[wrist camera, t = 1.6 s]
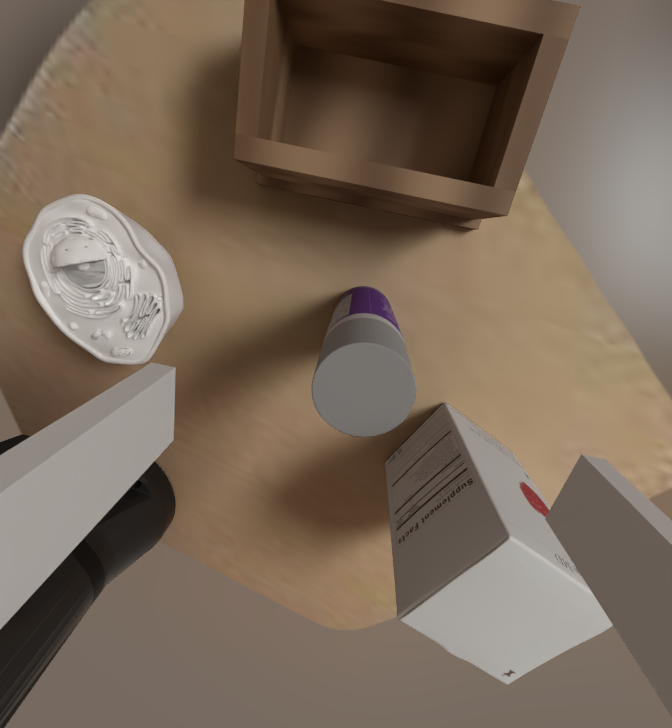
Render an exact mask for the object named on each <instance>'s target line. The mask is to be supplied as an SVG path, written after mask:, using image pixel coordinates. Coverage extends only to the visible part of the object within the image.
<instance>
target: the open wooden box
mask: <svg viewBox="0 0 672 728" xmlns="http://www.w3.org/2000/svg"><path fill="white" fill-rule="evenodd" d="M579 9H580V6H577V5H572V4H568V3H563V2H558V1H553V0H245V4H244V18H243V32H242V46H241V60H240V75H239V89H238V103H237V117H236V131H235V146H234V159H235V160H237V161H239V162H240V163H242V164H244V165H245V166H247V167H249V168H251V169H252V170H254V171H256V172H257V174H256V183H257V184H259V185H263V186H268V187H272V188H277V189H282V190H287V191H291V192H296V193H301V194H306V195H311V196H315V197H320V198H325V199H330V200H335V201H339V202H344V203H349V204H354V205H359V206H363V207H368V208H373V209H378V210H383V211H387V212H392V213H397V214H402V215H407V216H411V217H416V218H421V219H426V220H431V221H435V222H440V223H445V224H450V225H455V226H459V227H464V228H469V229H474V230H476V229H479V226H480V223H481V219H485V218H493V217H501V216H507V215H508V212H509V210H510V207H511V204H512V201H513V198H514V195H515V192H516V190H517V187H518V184H519V181H520V178H521V175H522V172H523V170H524V167H525V164H526V161H527V158H528V155H529V152H530V149H531V147H532V144H533V141H534V138H535V135H536V132H537V129H538V127H539V124H540V121H541V118H542V115H543V112H544V109H545V107H546V104H547V101H548V98H549V95H550V92H551V89H552V87H553V83H554V80H555V78H556V75H557V72H558V69H559V67H560V63H561V61H562V58H563V55H564V52H565V49H566V46H567V44H568V41H569V38H570V35H571V32H572V29H573V26H574V23H575V20H576V18H577V15H578V12H579Z"/></svg>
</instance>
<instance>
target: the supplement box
mask: <svg viewBox="0 0 672 728" xmlns="http://www.w3.org/2000/svg"><path fill="white" fill-rule="evenodd" d="M385 471H386V483H387V495H388V507H389V518H390V530H391V542H392V554H393V566H394V578H395V590H396V603H397V618H398V619H399V620H400V621H402V622H403V623H405V624H407V625H408V626H410V627H412V628H414V629H415V630H417V631H419V632H420V633H422V634H424V635H425V636H427V637H429V638H430V639H432V640H434V641H435V642H437V643H438V644H440V645H441V646H443V647H444V648H445V649H446V650H447V651H448V652H450V653H451V654H453V655H455V656H457V657H459V658H461V659H463V660H466V661H468V662H470V663H472V664H474V665H475V666H477V667H478V668H480V669H482V670H483V671H485V672H487V673H488V674H490V675H492V676H493V677H495V678H496V679H498V680H500V681H501V682H503V683H505V684H509V683H511V682H512V681H514V680H516V679H517V678H519V677H520V676H522V675H524V674H525V673H527V672H529V671H531V670H532V669H534V668H536V667H537V666H539V665H541V664H543V663H545V662H546V661H548V660H549V659H551V658H553V657H555V656H557V655H558V654H561V653H562V652H564V651H566V650H568V649H569V648H572V647H574V646H576V645H578V644H580V643H582V642H584V641H586V640H588V639H590V638H592V637H594V636H596V635H598V634H600V633H601V632H603V631H605V630H606V629H608V628H610V627H611V626H613V624H612V623H611V621H610V620H609V618H608V617H607V615H606V613H605V612H604V610H603V609H602V607H601V606H600V604H599V603H598V601H597V599H596V598H595V596H594V595H593V593H592V592H591V590H590V589H589V587H588V585H587V584H586V582H585V581H584V579H583V578H582V576H581V574H580V573H579V571H578V570H577V568H576V567H575V565H574V564H573V562H572V560H571V559H570V557H569V556H568V554H567V553H566V551H565V549H564V548H563V546H562V545H561V543H560V542H559V540H558V539H557V537H556V535H555V534H554V532H553V531H552V529H551V528H550V526H549V524H548V523H547V521H546V520H545V518H546V516H547V514H548V513H549V511H550V509H551V508H550V506H549V505H548V503H547V502H546V500H545V499H544V497H543V496H542V495H541V493H540V492H539V490H538V489H537V487H536V486H535V484H534V483H533V481H532V480H531V479H530V477H529V476H528V474H527V473H526V471H525V470H524V468H523V467H522V465H521V464H520V463H519V461H518V460H517V458H516V457H515V455H514V454H513V453H512V452H511V451H510V450H508V449H507V448H506V447H505V446H503V445H502V444H501V443H499V442H498V441H497V440H495V439H494V438H493V437H491V436H490V435H489V434H487V433H486V432H485V431H483V430H482V429H481V428H479V427H478V426H477V425H475V424H474V423H473V422H471V421H470V420H469V419H467V418H466V417H464V416H463V415H462V414H460V413H459V412H458V411H456V410H455V409H454V408H452V407H451V406H450V405H448V404H447V403H443V404H442V405H441V406H440V407H439V408H438V409H437V410H436V411H435V412H434V413H433V414H432V415H431V416H430V417H429V418H428V419H427V420H426V421H425V422H424V423H423V424H422V425H421V426H420V427H419V428H418V429H417V430H416V431H415V432H414V433H413V434H412V435H411V436H410V437H409V438H408V439H407V440H406V441H405V442H404V444H403V445H402V446H401V447H400V448H399V449H398V450H397V451H396V452H395V453H394V454H393V455H392V456H391V457H390V458H389V459H388V460H387V461H386V462H385Z"/></svg>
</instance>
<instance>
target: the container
mask: <svg viewBox="0 0 672 728" xmlns="http://www.w3.org/2000/svg"><path fill="white" fill-rule="evenodd" d="M415 397H416V382H415V378H414V374H413V371H412V368H411V364H410V361H409V357H408V354H407V350H406V347H405V343H404V340H403V337H402V335H401V332H400V329H399V327H398V324H397V322H396V319H395V317H394V314H393V311H392V309H391V306H390V304H389V302H388V300H387V298H386V297H385V296H384V295H383V294H382V293H381V292H380V291H378V290H377V289H375V288H372V287H367V286H360V287H355V288H353V289H350V290H349V291H347V292H346V293H345V294H343V296H342V297H341V298H340V300H339V301H338V303H337V306H336V308H335V311H334V314H333V316H332V319H331V322H330V324H329V327H328V330H327V332H326V335H325V338H324V341H323V344H322V348H321V352H320V355H319V359H318V363H317V366H316V370H315V373H314V377H313V381H312V398H313V402H314V405H315V407H316V409H317V411H318V413H319V414H320V416H321V417H322V418H323V419H324V420H325V421H326V422H327V423H328V424H329V425H330V426H332V427H333V428H335V429H336V430H338V431H340V432H342V433H345V434H348V435H352V436H358V437H370V436H377V435H380V434H384V433H386V432H388V431H390V430H392V429H394V428H395V427H397V426H398V425H399V424H401V423H402V422H403V421H404V420H405V418H406V417H407V416H408V414H409V413H410V411H411V409H412V407H413V405H414V402H415Z"/></svg>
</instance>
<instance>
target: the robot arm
mask: <svg viewBox="0 0 672 728" xmlns="http://www.w3.org/2000/svg"><path fill="white" fill-rule="evenodd" d="M175 370H176V368H175V367H170V366H166V365H161V364H156V363H150V364H149V365H147V366H145V367H144V368H142V369H140V370H139V371H137V372H135V373H134V374H132V375H131V376H129V377H127V378H126V379H124V380H122V381H121V382H119V383H117V384H116V385H114V386H113V387H111V388H109V389H108V390H106V391H104V392H103V393H101V394H99V395H98V396H96V397H95V398H93V399H91V400H90V401H88V402H86V403H85V404H83V405H81V406H80V407H78V408H77V409H75V410H73V411H72V412H70V413H68V414H67V415H65V416H63V417H62V418H60V419H59V420H57V421H55V422H54V423H52V424H50V425H49V426H47V427H45V428H44V429H42V430H41V431H39V432H37V433H36V434H34V435H32V436H27V435H20V436H16V437H14V438H11V439H8V440H5V441H3V442H0V728H4V727H5V726H6V724H7V723H8V722H9V720H10V719H11V717H12V716H13V714H14V713H15V712H16V710H17V709H18V707H19V706H20V705H21V703H22V702H23V700H24V699H25V698H26V696H27V695H28V694H29V692H30V691H31V689H32V688H33V687H34V685H35V684H36V682H37V681H38V679H39V678H40V677H41V675H42V674H43V672H44V671H45V670H46V668H47V667H48V666H49V664H50V663H51V661H52V660H53V658H54V657H55V656H56V654H57V653H58V651H59V650H60V649H61V647H62V646H63V644H64V643H65V641H66V640H67V639H68V637H69V636H70V635H71V633H72V632H73V630H74V629H75V627H76V626H77V625H78V623H79V622H80V621H81V619H82V618H83V616H84V615H85V614H86V612H87V611H88V609H89V608H90V606H91V605H92V604H93V602H94V601H95V599H96V598H97V597H98V595H99V594H100V593H101V591H102V590H103V589H104V588H105V586H106V585H107V584H108V583H109V582H111V581H112V580H113V579H114V578H116V577H117V576H118V575H119V574H121V573H122V572H123V571H124V570H125V569H127V568H128V567H129V566H130V565H132V564H133V563H134V562H135V561H136V560H137V559H139V558H140V557H141V556H142V555H143V554H144V553H146V552H147V551H149V550H150V549H151V548H152V547H153V546H154V545H155V544H156V543H157V542H158V541H159V540H160V538H161V537H162V535H163V534H164V532H165V531H166V529H167V528H168V526H169V525H170V523H171V521H172V519H173V517H174V513H175V496H174V492H173V489H172V486H171V484H170V482H169V480H168V478H167V476H166V475H165V473H164V472H163V471H162V469H161V468H160V467H159V466H158V465H157V464H156V463H155V462H154V461H155V460H156V459H157V458H158V457H159V456H160V455H161V453H162V452H163V451H164V450H165V449H166V448H167V447H168V446H169V445H170V444H171V442H172V441H173V440H174V409H175ZM545 520H546V521H547V523H548V524H549V526H550V528H551V529H552V531H553V532H554V534H555V535H556V537H557V539H558V540H559V542H560V543H561V545H562V546H563V548H564V549H565V551H566V553H567V554H568V556H569V557H570V559H571V560H572V562H573V564H574V565H575V567H576V568H577V570H578V571H579V573H580V574H581V576H582V578H583V579H584V581H585V582H586V584H587V585H588V587H589V589H590V590H591V592H592V593H593V595H594V596H595V598H596V599H597V601H598V603H599V604H600V606H601V607H602V609H603V610H604V612H605V613H606V615H607V617H608V618H609V620H610V621H611V623H612V624H613V626H614V627H615V629H616V631H617V632H618V634H619V635H620V637H621V638H622V640H623V642H624V643H625V645H626V646H627V648H628V649H629V651H630V653H631V654H632V656H633V657H634V659H635V660H636V662H637V663H638V665H639V667H640V668H641V669H642V671H643V673H644V674H645V676H646V678H647V679H648V681H649V682H650V684H651V685H652V687H653V688H654V690H655V691H656V693H657V695H658V696H659V698H660V699H661V701H662V703H663V704H664V705H665V707H666V709H667V710H668V712H669V713H670V715H671V716H672V521H671V520H670V519H669V518H668V517H667V516H666V515H665V514H663V513H662V512H661V511H660V510H659V509H658V508H657V507H656V506H655V505H654V504H653V503H652V502H651V501H650V500H649V499H647V498H646V497H645V496H644V495H643V494H642V493H641V492H640V491H639V490H638V489H637V488H636V487H635V486H633V485H632V484H631V483H630V482H629V481H628V480H627V479H626V478H625V477H624V476H623V475H622V474H621V473H619V472H618V471H617V470H616V469H615V468H614V467H613V466H612V465H611V464H610V463H609V462H608V461H607V460H605V459H602V458H597V457H592V456H588V455H583V454H581V456H580V458H579V460H578V461H577V463H576V465H575V467H574V468H573V470H572V472H571V474H570V475H569V477H568V479H567V481H566V483H565V484H564V486H563V488H562V490H561V491H560V493H559V495H558V497H557V498H556V500H555V502H554V504H553V505H552V507H551V509H550V511H549V513H548V514H547V516H546V518H545Z"/></svg>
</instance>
